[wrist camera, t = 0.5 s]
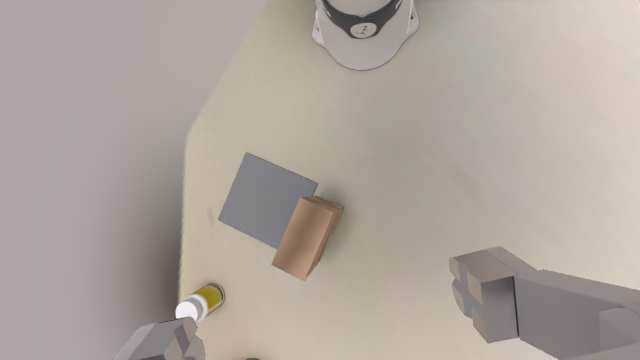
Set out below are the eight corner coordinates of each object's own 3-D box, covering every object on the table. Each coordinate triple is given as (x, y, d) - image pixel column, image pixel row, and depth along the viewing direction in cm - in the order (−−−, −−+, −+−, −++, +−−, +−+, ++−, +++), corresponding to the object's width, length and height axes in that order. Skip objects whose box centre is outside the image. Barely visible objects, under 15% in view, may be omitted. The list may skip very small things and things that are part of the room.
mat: (317, 183, 54) (317, 183, 53) (287, 253, 54) (287, 254, 54) (246, 152, 56) (246, 152, 56) (218, 219, 57) (217, 219, 56)
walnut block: (343, 207, 53) (333, 212, 39) (321, 258, 53) (304, 281, 39) (318, 195, 54) (300, 197, 40) (297, 245, 54) (271, 264, 40)
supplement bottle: (206, 279, 57) (178, 294, 48) (228, 288, 56) (203, 304, 48) (199, 303, 57) (169, 322, 49) (220, 312, 56) (194, 333, 48)
